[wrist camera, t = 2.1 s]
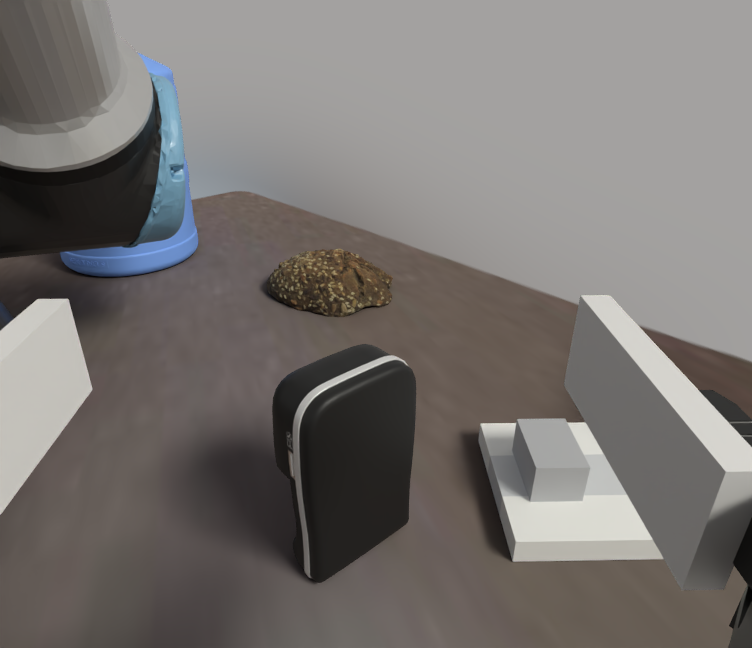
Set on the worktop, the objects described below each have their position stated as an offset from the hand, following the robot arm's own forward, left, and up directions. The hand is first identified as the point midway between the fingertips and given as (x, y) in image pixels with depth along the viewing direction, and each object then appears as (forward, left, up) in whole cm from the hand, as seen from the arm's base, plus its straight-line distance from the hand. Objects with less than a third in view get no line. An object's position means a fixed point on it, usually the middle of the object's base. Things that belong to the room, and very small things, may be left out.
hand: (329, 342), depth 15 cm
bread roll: (-43, -2, -19) cm, 47 cm away
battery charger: (-10, 0, -18) cm, 21 cm away
